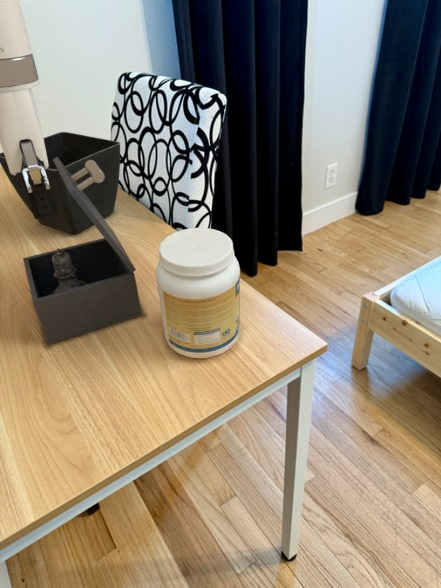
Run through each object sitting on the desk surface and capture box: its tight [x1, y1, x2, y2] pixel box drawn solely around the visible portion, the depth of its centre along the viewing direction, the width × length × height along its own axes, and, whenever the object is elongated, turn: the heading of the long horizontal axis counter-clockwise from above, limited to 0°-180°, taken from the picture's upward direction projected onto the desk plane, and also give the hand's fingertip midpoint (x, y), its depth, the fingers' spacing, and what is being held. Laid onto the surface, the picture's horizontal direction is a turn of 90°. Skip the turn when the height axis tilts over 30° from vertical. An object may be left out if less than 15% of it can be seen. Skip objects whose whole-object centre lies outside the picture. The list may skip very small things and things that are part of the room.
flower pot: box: [0, 131, 121, 235], centre depth 98 cm, size 19×19×17 cm
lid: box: [53, 157, 137, 273], centre depth 67 cm, size 16×14×5 cm
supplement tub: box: [155, 227, 241, 359], centre depth 65 cm, size 12×12×17 cm
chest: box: [22, 237, 143, 346], centre depth 73 cm, size 16×14×9 cm
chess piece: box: [52, 247, 87, 294], centre depth 71 cm, size 6×6×12 cm
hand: (42, 203), depth 62 cm, fingers open, 9 cm apart
